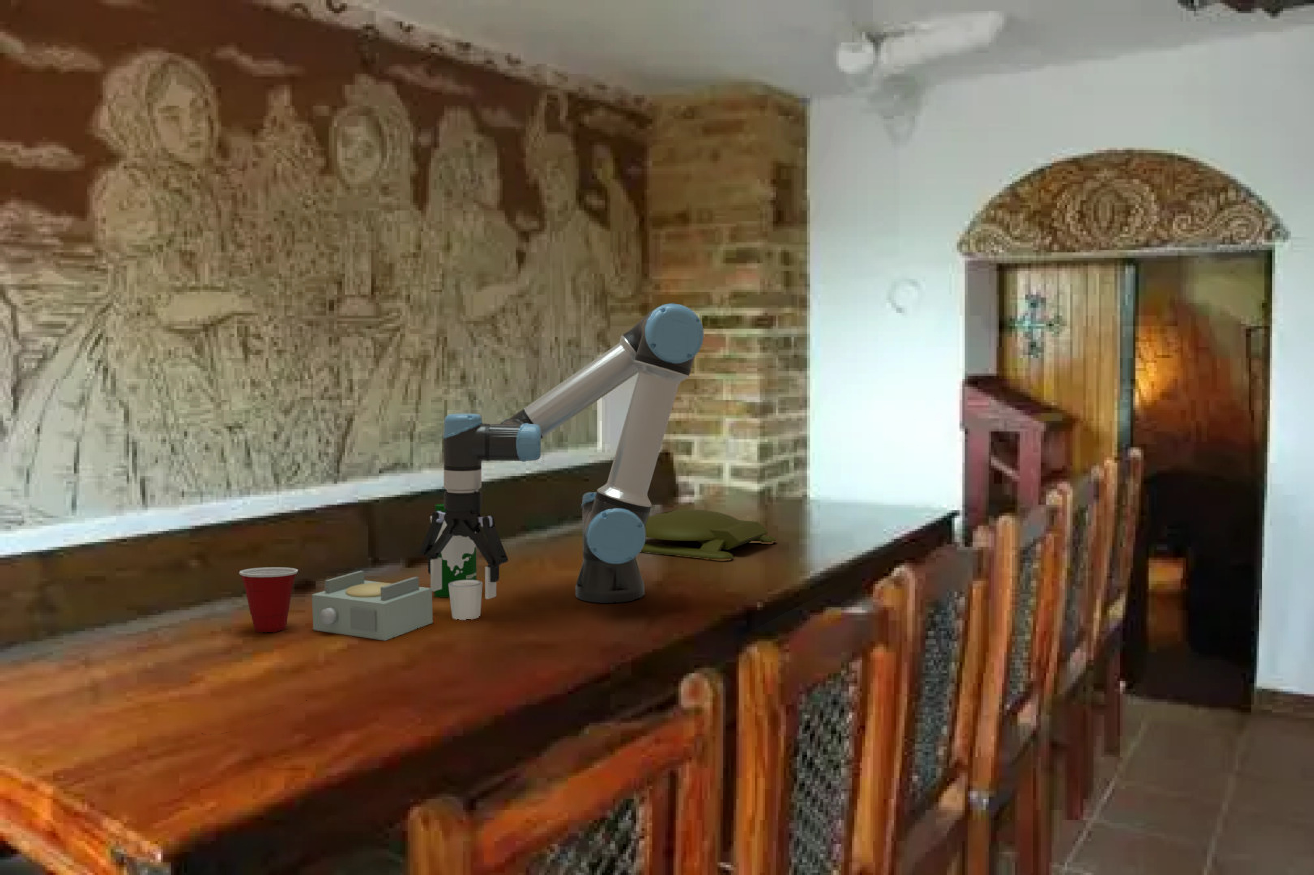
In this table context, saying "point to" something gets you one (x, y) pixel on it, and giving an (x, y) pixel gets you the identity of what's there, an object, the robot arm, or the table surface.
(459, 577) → the milk carton
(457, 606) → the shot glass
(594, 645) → the table surface
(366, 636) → the portable stove
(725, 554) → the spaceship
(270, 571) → the plastic cup
